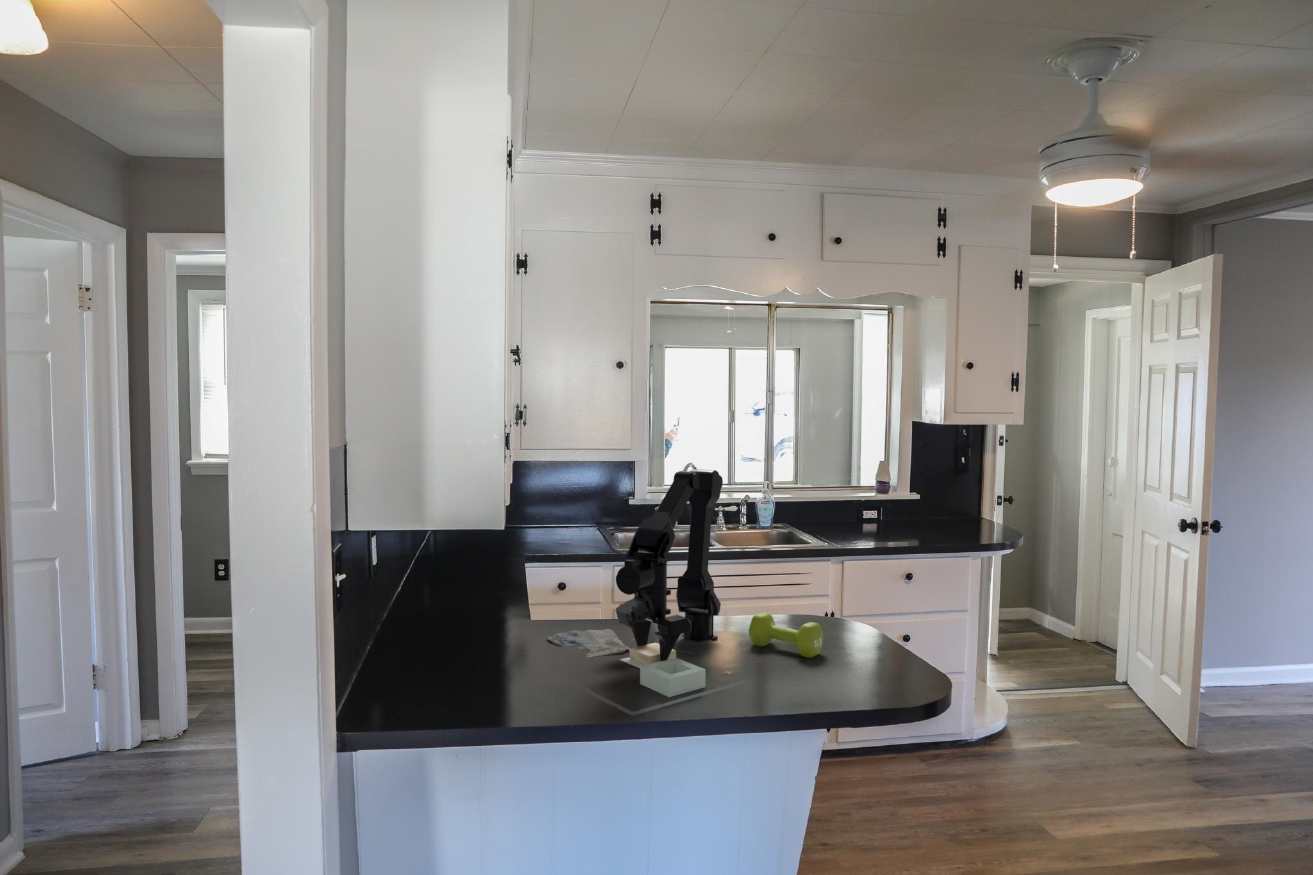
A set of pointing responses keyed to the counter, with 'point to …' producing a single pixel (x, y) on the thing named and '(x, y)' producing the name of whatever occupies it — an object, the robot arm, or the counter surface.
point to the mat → (631, 662)
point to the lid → (648, 654)
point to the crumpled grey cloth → (591, 641)
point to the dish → (672, 677)
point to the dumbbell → (786, 634)
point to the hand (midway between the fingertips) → (652, 657)
